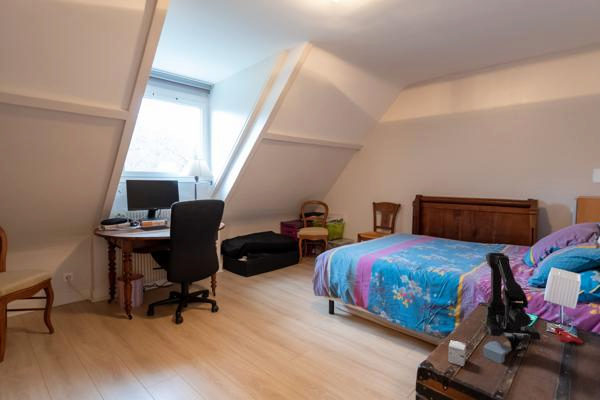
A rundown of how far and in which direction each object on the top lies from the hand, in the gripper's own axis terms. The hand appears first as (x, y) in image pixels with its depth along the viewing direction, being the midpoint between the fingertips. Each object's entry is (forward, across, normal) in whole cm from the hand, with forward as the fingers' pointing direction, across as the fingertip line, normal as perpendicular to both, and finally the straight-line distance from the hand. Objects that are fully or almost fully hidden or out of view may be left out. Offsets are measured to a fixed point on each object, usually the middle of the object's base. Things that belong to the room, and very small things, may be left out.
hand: (512, 350), depth 138 cm
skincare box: (+1, +24, +11) cm, 27 cm away
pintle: (+2, -3, -8) cm, 9 cm away
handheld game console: (+3, -18, -39) cm, 43 cm away
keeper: (+2, +7, +4) cm, 8 cm away
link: (+1, +1, -3) cm, 3 cm away
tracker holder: (+3, -30, -21) cm, 37 cm away
